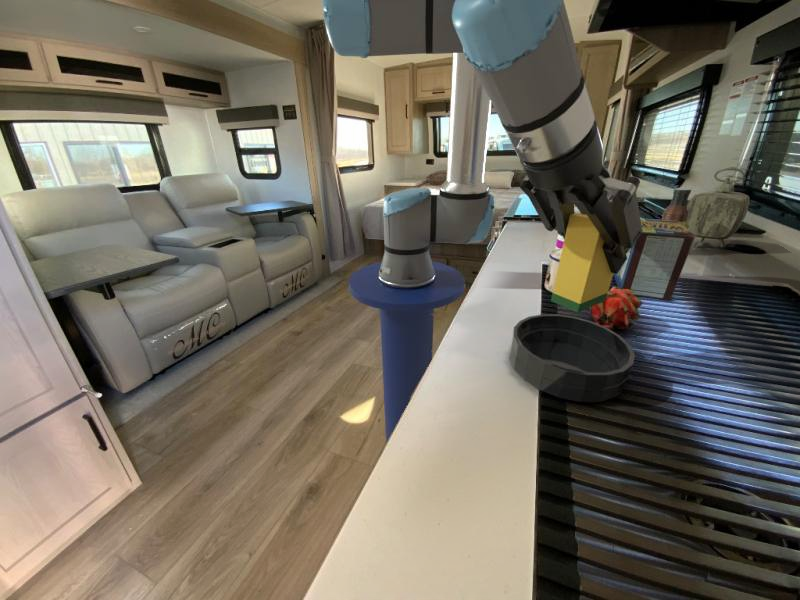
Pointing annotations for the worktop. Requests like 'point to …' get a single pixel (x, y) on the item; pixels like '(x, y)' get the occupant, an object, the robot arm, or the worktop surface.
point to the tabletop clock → (717, 211)
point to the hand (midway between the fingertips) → (601, 260)
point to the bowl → (571, 357)
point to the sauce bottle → (678, 206)
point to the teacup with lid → (552, 269)
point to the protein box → (656, 259)
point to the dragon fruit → (617, 309)
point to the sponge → (581, 267)
